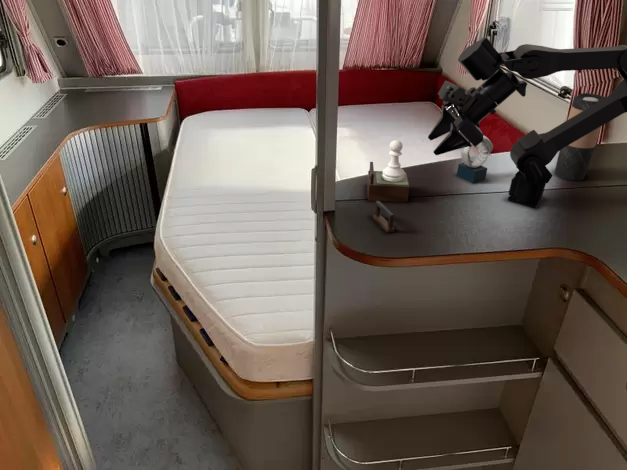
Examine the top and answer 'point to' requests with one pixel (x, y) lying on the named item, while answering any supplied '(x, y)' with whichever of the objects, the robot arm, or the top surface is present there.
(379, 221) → the low rail
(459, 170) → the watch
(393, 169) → the chess pawn
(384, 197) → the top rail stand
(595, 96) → the travel mug
